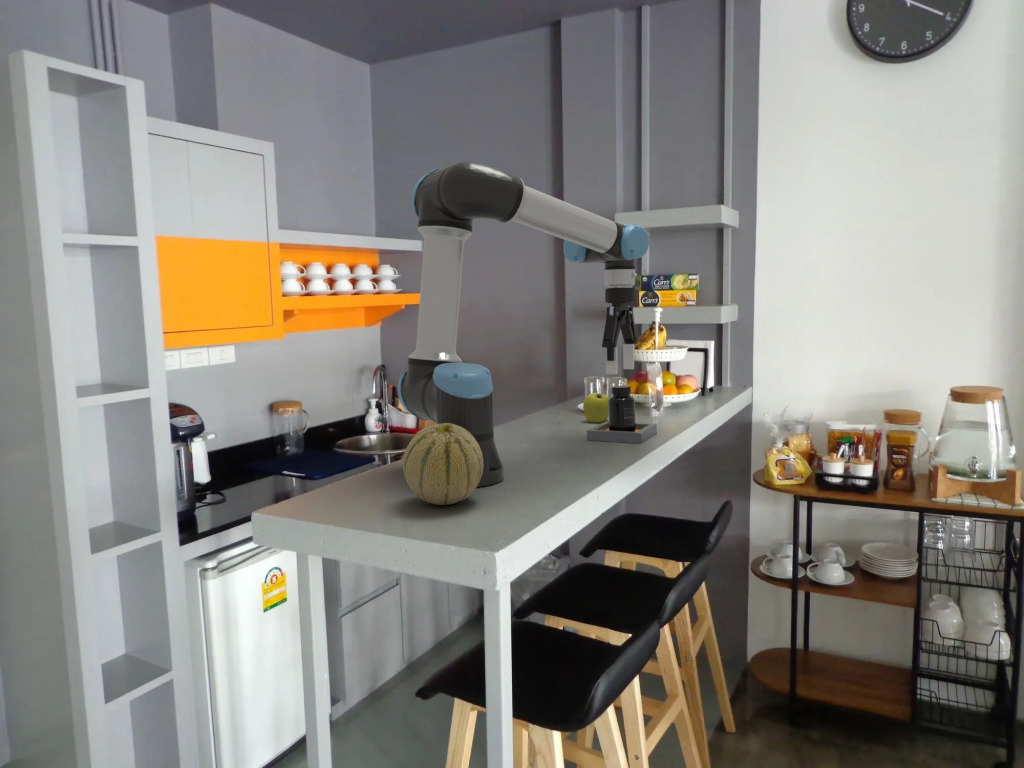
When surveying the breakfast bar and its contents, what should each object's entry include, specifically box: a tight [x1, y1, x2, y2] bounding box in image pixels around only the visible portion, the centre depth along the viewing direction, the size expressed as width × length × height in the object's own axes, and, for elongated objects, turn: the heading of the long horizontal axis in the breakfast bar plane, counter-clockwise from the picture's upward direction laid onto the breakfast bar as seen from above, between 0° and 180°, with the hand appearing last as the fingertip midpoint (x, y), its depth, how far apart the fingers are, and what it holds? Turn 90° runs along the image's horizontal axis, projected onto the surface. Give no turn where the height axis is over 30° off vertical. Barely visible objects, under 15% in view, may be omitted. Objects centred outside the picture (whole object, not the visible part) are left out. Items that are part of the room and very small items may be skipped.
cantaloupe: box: [402, 423, 484, 506], centre depth 137 cm, size 15×15×15 cm
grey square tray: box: [586, 420, 658, 444], centre depth 194 cm, size 14×14×2 cm
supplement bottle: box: [608, 385, 637, 432], centre depth 193 cm, size 7×7×12 cm
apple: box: [582, 388, 610, 424], centre depth 217 cm, size 8×8×10 cm
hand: (620, 371), depth 192 cm, fingers open, 13 cm apart
